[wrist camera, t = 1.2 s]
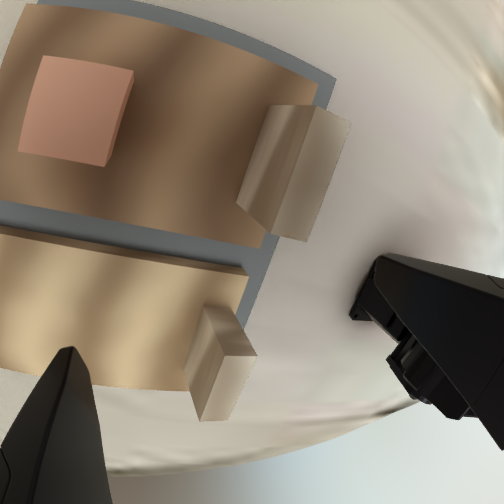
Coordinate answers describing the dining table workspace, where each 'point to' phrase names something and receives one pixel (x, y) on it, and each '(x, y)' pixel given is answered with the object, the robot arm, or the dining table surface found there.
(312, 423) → the dining table surface
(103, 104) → the block
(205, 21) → the lane mat
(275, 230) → the darker brown strip
